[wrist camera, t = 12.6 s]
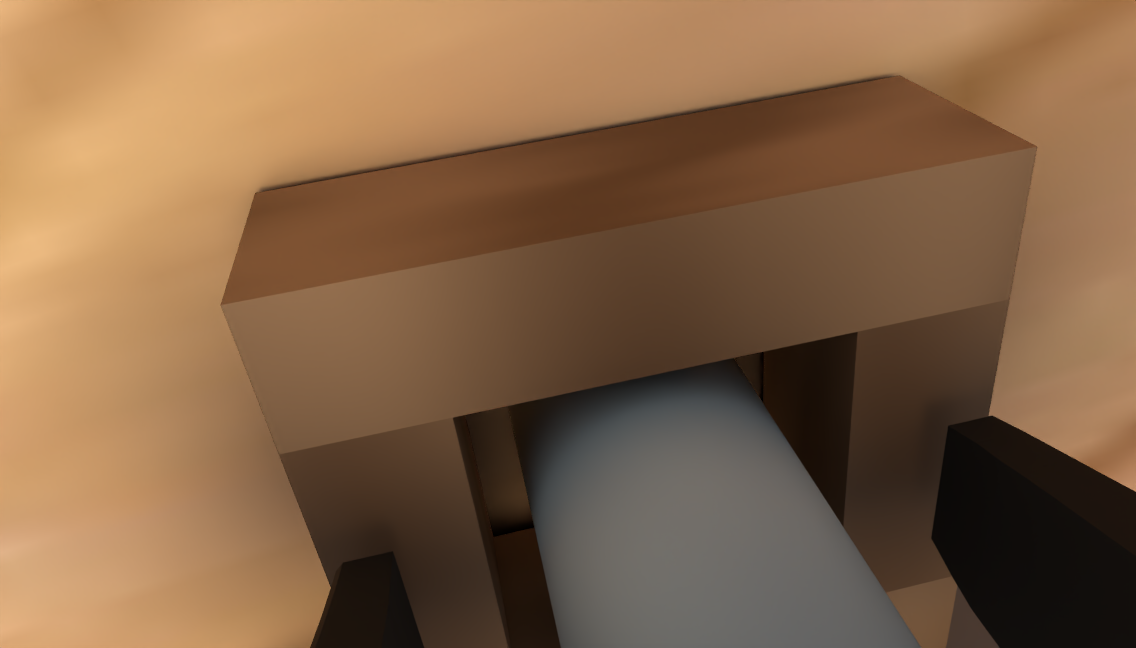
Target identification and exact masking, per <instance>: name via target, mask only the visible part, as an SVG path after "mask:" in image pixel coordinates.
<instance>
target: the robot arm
mask: <svg viewBox="0 0 1136 648" xmlns="http://www.w3.org/2000/svg"><path fill="white" fill-rule="evenodd" d="M931 539H932V541H933V543H934V544H935V546H936V548H937V550H938V552H939V554H940V555H941V557H942V559H943V561H944V563H945V565H946V566H947V568H948V570H949V572H950V574H951V576H952V577H953V579H954V581H955V582H956V584H957V586H958V587H959V589H960V591H961V593H962V594H963V596H964V598H965V599H966V601H967V603H968V604H969V606H970V608H971V609H972V611H973V612H974V613H975V615H976V616H977V618H978V619H979V620H980V622H981V623H982V625H983V626H984V627H985V629H986V630H987V631H988V633H989V634H990V635H991V637H992V638H993V640H994V641H995V642H996V644H997V645H998V646H999V648H1136V492H1135V491H1133V490H1131V489H1129V488H1127V487H1126V486H1124V485H1122V484H1120V483H1118V482H1116V481H1114V480H1112V479H1111V478H1109V477H1107V476H1105V475H1103V474H1101V473H1099V472H1098V471H1096V470H1094V469H1092V468H1090V467H1088V466H1087V465H1085V464H1083V463H1081V462H1079V461H1077V460H1075V459H1074V458H1072V457H1070V456H1068V455H1066V454H1064V453H1063V452H1061V451H1059V450H1057V449H1055V448H1053V447H1051V446H1050V445H1048V444H1046V443H1044V442H1042V441H1040V440H1038V439H1037V438H1035V437H1033V436H1031V435H1029V434H1027V433H1025V432H1023V431H1022V430H1020V429H1018V428H1016V427H1014V426H1012V425H1010V424H1008V423H1006V422H1004V421H1002V420H1000V419H998V418H996V417H994V416H988V417H984V418H979V419H975V420H971V421H966V422H962V423H957V424H953V425H948V429H947V436H946V443H945V449H944V456H943V462H942V469H941V476H940V482H939V489H938V495H937V502H936V509H935V515H934V522H933V529H932V535H931ZM310 648H424V645H423V642H422V639H421V636H420V633H419V630H418V627H417V624H416V621H415V618H414V615H413V611H412V608H411V605H410V602H409V599H408V596H407V593H406V590H405V587H404V584H403V580H402V577H401V574H400V571H399V568H398V565H397V562H396V559H395V556H394V553H393V551H392V552H387V553H383V554H378V555H374V556H369V557H365V558H361V559H356V560H352V561H347V562H343V563H342V564H341V566H340V567H339V568H338V569H337V571H336V573H335V576H334V579H333V583H332V586H331V589H330V593H329V596H328V599H327V602H326V605H325V608H324V611H323V614H322V617H321V620H320V623H319V625H318V628H317V631H316V634H315V637H314V639H313V642H312V645H311V647H310Z"/></svg>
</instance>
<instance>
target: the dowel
mask: <svg viewBox="0 0 1136 648" xmlns="http://www.w3.org/2000/svg"><path fill="white" fill-rule="evenodd" d="M508 410H509V414H510V419H511V423H512V428H513V432H514V437H515V441H516V446H517V450H518V455H519V459H520V464H521V469H522V473H523V478H524V482H525V487H526V491H527V496H528V500H529V505H530V509H531V514H532V518H533V523H534V528H535V532H536V537H537V541H538V546H539V550H540V555H541V559H542V564H543V568H544V573H545V577H546V582H547V587H548V591H549V596H550V600H551V605H552V609H553V614H554V618H555V623H556V627H557V632H558V637H559V641H560V646H561V648H921V646H920V645H919V643H918V642H917V640H916V639H915V637H914V635H913V634H912V632H911V631H910V629H909V628H908V626H907V625H906V623H905V622H904V620H903V618H902V617H901V615H900V614H899V612H898V611H897V609H896V608H895V606H894V605H893V603H892V601H891V600H890V598H889V597H888V595H887V594H886V592H885V591H884V589H883V588H882V586H881V585H880V583H879V581H878V580H877V578H876V577H875V575H874V574H873V572H872V571H871V569H870V568H869V566H868V564H867V563H866V561H865V560H864V558H863V557H862V555H861V554H860V552H859V551H858V549H857V548H856V546H855V544H854V543H853V541H852V540H851V538H850V537H849V535H848V534H847V532H846V531H845V529H844V527H843V526H842V524H841V523H840V521H839V520H838V518H837V517H836V515H835V514H834V512H833V511H832V509H831V507H830V506H829V504H828V503H827V501H826V500H825V498H824V497H823V495H822V494H821V492H820V490H819V489H818V487H817V486H816V484H815V483H814V481H813V480H812V478H811V477H810V475H809V473H808V472H807V470H806V469H805V467H804V466H803V464H802V463H801V461H800V460H799V458H798V457H797V455H796V453H795V452H794V450H793V449H792V447H791V446H790V444H789V443H788V441H787V440H786V438H785V436H784V435H783V433H782V432H781V430H780V429H779V427H778V426H777V424H776V423H775V421H774V420H773V418H772V416H771V415H770V413H769V412H768V410H767V409H766V407H765V406H764V404H763V403H762V401H761V399H760V398H759V396H758V395H757V393H756V392H755V390H754V389H753V387H752V386H751V384H750V383H749V381H748V379H747V378H746V376H745V375H744V373H743V372H742V370H741V369H740V367H739V366H738V364H737V362H736V361H735V359H734V358H731V359H726V360H722V361H717V362H712V363H707V364H703V365H698V366H693V367H689V368H684V369H679V370H675V371H670V372H665V373H660V374H656V375H651V376H646V377H642V378H637V379H632V380H627V381H623V382H618V383H613V384H609V385H604V386H599V387H594V388H590V389H585V390H580V391H576V392H571V393H566V394H562V395H557V396H552V397H547V398H543V399H538V400H533V401H529V402H524V403H519V404H514V405H510V406H508Z"/></svg>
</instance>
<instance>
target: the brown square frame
mask: <svg viewBox="0 0 1136 648" xmlns="http://www.w3.org/2000/svg"><path fill="white" fill-rule="evenodd" d="M1036 151H1037V146H1035V145H1033V144H1031V143H1029V142H1027V141H1025V140H1023V139H1021V138H1019V137H1017V136H1016V135H1014V134H1012V133H1010V132H1008V131H1006V130H1004V129H1002V128H1000V127H998V126H996V125H994V124H992V123H990V122H988V121H986V120H985V119H983V118H981V117H979V116H977V115H975V114H973V113H971V112H969V111H967V110H965V109H963V108H961V107H959V106H957V105H956V104H954V103H952V102H950V101H948V100H946V99H944V98H942V97H940V96H938V95H936V94H934V93H932V92H930V91H928V90H926V89H925V88H923V87H921V86H919V85H917V84H915V83H913V82H911V81H909V80H907V79H905V78H903V77H901V76H895V77H890V78H884V79H879V80H873V81H868V82H862V83H857V84H851V85H846V86H840V87H835V88H829V89H824V90H818V91H813V92H807V93H802V94H797V95H791V96H786V97H780V98H775V99H769V100H764V101H758V102H753V103H747V104H742V105H736V106H731V107H725V108H720V109H714V110H709V111H703V112H698V113H692V114H687V115H681V116H676V117H670V118H665V119H659V120H654V121H648V122H643V123H637V124H632V125H626V126H621V127H615V128H610V129H604V130H599V131H593V132H588V133H583V134H577V135H572V136H566V137H561V138H555V139H550V140H544V141H539V142H533V143H528V144H522V145H517V146H511V147H506V148H500V149H495V150H489V151H484V152H478V153H473V154H467V155H462V156H456V157H451V158H445V159H440V160H434V161H429V162H423V163H418V164H412V165H407V166H401V167H396V168H390V169H385V170H379V171H374V172H369V173H363V174H358V175H352V176H347V177H341V178H336V179H330V180H325V181H319V182H314V183H308V184H303V185H297V186H292V187H286V188H281V189H275V190H270V191H264V192H259V193H255V196H254V199H253V202H252V205H251V209H250V212H249V215H248V218H247V222H246V225H245V228H244V231H243V234H242V238H241V241H240V244H239V247H238V251H237V254H236V257H235V260H234V264H233V267H232V270H231V273H230V277H229V280H228V283H227V286H226V290H225V293H224V296H223V299H222V303H221V307H222V310H223V312H224V315H225V318H226V320H227V323H228V325H229V328H230V330H231V333H232V335H233V338H234V341H235V343H236V346H237V348H238V351H239V353H240V356H241V358H242V361H243V364H244V366H245V369H246V371H247V374H248V376H249V379H250V382H251V384H252V387H253V389H254V392H255V394H256V397H257V399H258V402H259V405H260V407H261V410H262V412H263V415H264V417H265V420H266V422H267V425H268V428H269V430H270V433H271V435H272V438H273V440H274V443H275V445H276V448H277V451H278V453H279V456H280V458H281V461H282V463H283V466H284V469H285V471H286V474H287V476H288V479H289V481H290V484H291V486H292V489H293V492H294V494H295V497H296V499H297V502H298V504H299V507H300V509H301V512H302V515H303V517H304V520H305V522H306V525H307V527H308V530H309V532H310V535H311V538H312V540H313V543H314V545H315V548H316V550H317V553H318V556H319V558H320V561H321V563H322V566H323V568H324V571H325V573H326V576H327V579H328V581H329V584H330V586H332V583H333V579H334V576H335V573H336V571H337V569H338V568H339V567H340V566H341V564H342V563H343V562H347V561H352V560H356V559H361V558H365V557H369V556H374V555H378V554H383V553H387V552H392V551H393V553H394V556H395V559H396V562H397V565H398V568H399V571H400V574H401V577H402V580H403V584H404V587H405V590H406V593H407V596H408V599H409V602H410V605H411V608H412V611H413V615H414V618H415V621H416V624H417V627H418V630H419V633H420V636H421V639H422V642H423V645H424V648H561V646H560V641H559V637H558V632H557V627H556V623H555V618H554V614H553V609H552V605H551V600H550V596H549V591H548V587H547V582H546V577H545V573H544V568H543V564H542V559H541V555H540V550H539V546H538V541H537V537H536V532H535V528H531V529H526V530H522V531H518V532H513V533H509V534H504V535H500V536H496V537H493V534H492V530H491V525H490V521H489V517H488V513H487V508H486V504H485V500H484V495H483V491H482V487H481V482H480V478H479V474H478V469H477V465H476V461H475V456H474V452H473V448H472V444H471V439H470V435H469V431H468V426H467V422H466V418H465V415H467V414H472V413H477V412H481V411H486V410H491V409H496V408H500V407H505V406H510V405H514V404H519V403H524V402H529V401H533V400H538V399H543V398H547V397H552V396H557V395H562V394H566V393H571V392H576V391H580V390H585V389H590V388H594V387H599V386H604V385H609V384H613V383H618V382H623V381H627V380H632V379H637V378H642V377H646V376H651V375H656V374H660V373H665V372H670V371H675V370H679V369H684V368H689V367H693V366H698V365H703V364H707V363H712V362H717V361H722V360H726V359H731V358H736V357H740V356H745V355H750V354H755V353H759V352H764V406H765V407H766V409H767V410H768V412H769V413H770V415H771V416H772V418H773V420H774V421H775V423H776V424H777V426H778V427H779V429H780V430H781V432H782V433H783V435H784V436H785V438H786V440H787V441H788V443H789V444H790V446H791V447H792V449H793V450H794V452H795V453H796V455H797V457H798V458H799V460H800V461H801V463H802V464H803V466H804V467H805V469H806V470H807V472H808V473H809V475H810V477H811V478H812V480H813V481H814V483H815V484H816V486H817V487H818V489H819V490H820V492H821V494H822V495H823V497H824V498H825V500H826V501H827V503H828V504H829V506H830V507H831V509H832V511H833V512H834V514H835V515H836V517H837V518H838V520H839V521H840V523H841V524H842V526H843V527H844V529H845V531H846V532H847V534H848V535H849V537H850V538H851V540H852V541H853V543H854V544H855V546H856V548H857V549H858V551H859V552H860V554H861V555H862V557H863V558H864V560H865V561H866V563H867V564H868V566H869V568H870V569H871V571H872V572H873V574H874V575H875V577H876V578H877V580H878V581H879V583H880V585H881V586H882V588H883V589H884V591H885V592H886V594H887V595H888V597H889V598H890V600H891V601H892V603H893V605H894V606H895V608H896V609H897V611H898V612H899V614H900V615H901V617H902V618H903V620H904V622H905V623H906V625H907V626H908V628H909V629H910V631H911V632H912V634H913V635H914V637H915V639H916V640H917V642H918V643H919V645H920V646H921V648H946V645H947V640H948V634H949V629H950V623H951V618H952V612H953V607H954V601H955V596H956V590H957V584H956V582H955V581H954V579H953V577H952V576H951V574H950V572H949V570H948V568H947V566H946V565H945V563H944V561H943V559H942V557H941V555H940V554H939V552H938V550H937V548H936V546H935V544H934V543H933V541H932V539H931V535H932V529H933V522H934V515H935V509H936V502H937V495H938V489H939V482H940V476H941V469H942V462H943V456H944V449H945V443H946V436H947V429H948V425H953V424H957V423H962V422H966V421H971V420H975V419H979V418H984V417H988V415H989V409H990V404H991V398H992V393H993V387H994V382H995V376H996V371H997V365H998V360H999V354H1000V349H1001V343H1002V338H1003V332H1004V327H1005V321H1006V316H1007V310H1008V305H1009V299H1010V294H1011V288H1012V283H1013V277H1014V272H1015V266H1016V261H1017V255H1018V250H1019V244H1020V239H1021V233H1022V228H1023V222H1024V217H1025V211H1026V206H1027V200H1028V195H1029V189H1030V184H1031V178H1032V173H1033V167H1034V162H1035V156H1036Z"/></svg>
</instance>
